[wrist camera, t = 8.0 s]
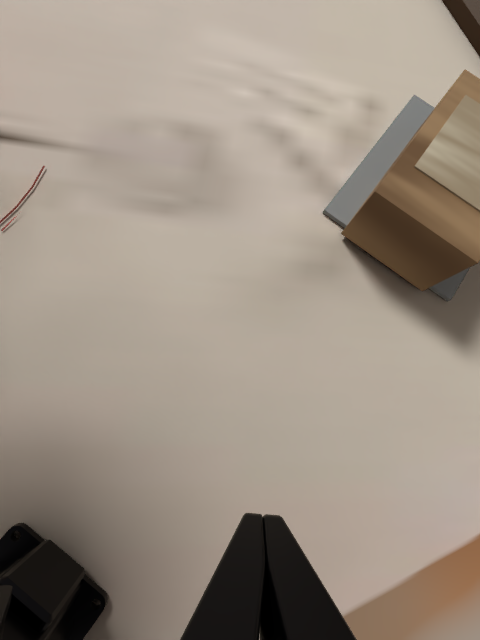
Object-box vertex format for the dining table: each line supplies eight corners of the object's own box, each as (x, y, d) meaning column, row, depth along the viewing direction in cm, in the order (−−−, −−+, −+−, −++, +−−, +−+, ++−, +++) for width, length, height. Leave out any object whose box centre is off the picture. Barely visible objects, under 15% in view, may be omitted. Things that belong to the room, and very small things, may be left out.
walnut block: (479, 262, 18) (557, 127, 21) (375, 190, 19) (466, 67, 22) (422, 291, 23) (491, 178, 26) (340, 233, 24) (418, 129, 27)
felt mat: (447, 301, 24) (451, 299, 23) (322, 212, 25) (324, 209, 24) (522, 173, 27) (527, 169, 27) (411, 98, 28) (414, 94, 28)
